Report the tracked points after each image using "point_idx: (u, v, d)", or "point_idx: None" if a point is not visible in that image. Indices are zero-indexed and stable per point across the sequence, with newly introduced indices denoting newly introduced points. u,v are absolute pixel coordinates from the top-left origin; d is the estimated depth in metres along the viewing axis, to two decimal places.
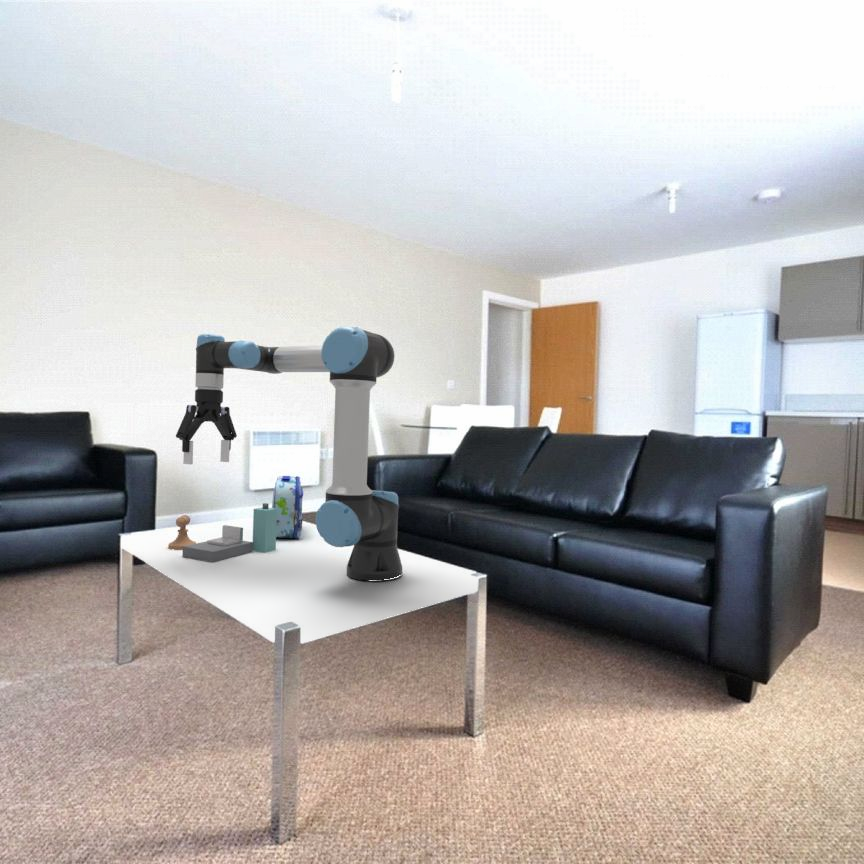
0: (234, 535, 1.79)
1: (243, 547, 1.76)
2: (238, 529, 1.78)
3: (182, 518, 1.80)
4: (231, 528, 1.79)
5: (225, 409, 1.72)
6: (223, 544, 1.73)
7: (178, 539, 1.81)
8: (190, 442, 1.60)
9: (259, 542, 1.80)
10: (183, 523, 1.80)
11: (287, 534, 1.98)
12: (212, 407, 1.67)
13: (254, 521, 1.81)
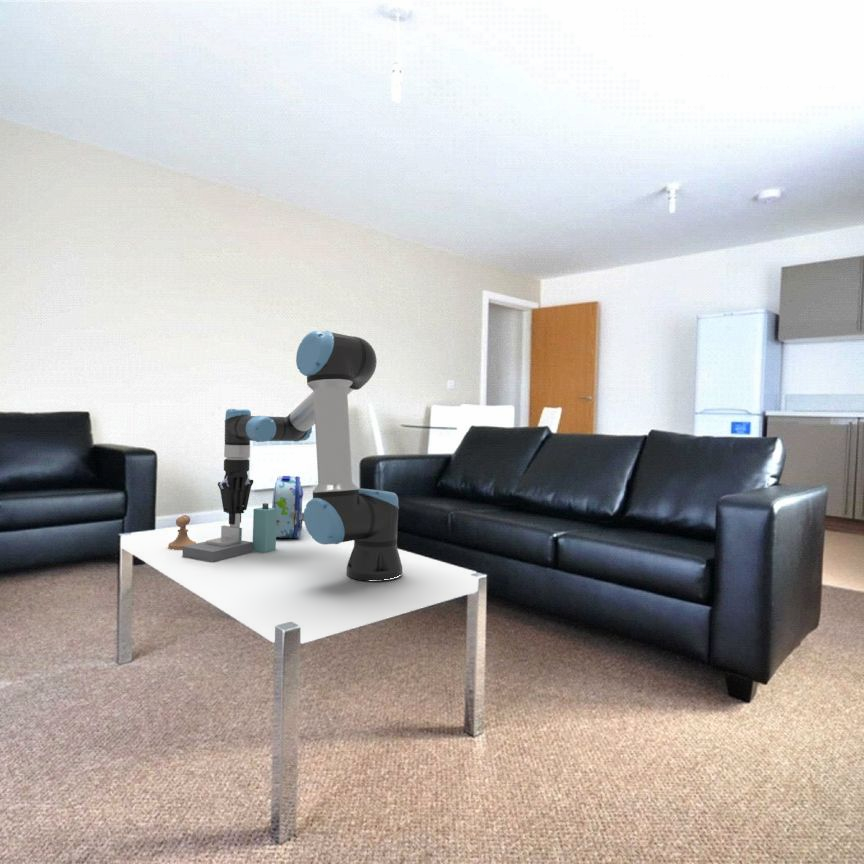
0: (233, 535, 1.78)
1: (243, 547, 1.76)
2: (237, 529, 1.77)
3: (182, 518, 1.80)
4: (230, 528, 1.79)
5: (249, 481, 1.85)
6: (222, 544, 1.72)
7: (178, 539, 1.81)
8: (236, 515, 1.79)
9: (259, 542, 1.80)
10: (183, 523, 1.80)
11: (287, 534, 1.98)
12: (239, 475, 1.80)
13: (254, 521, 1.81)
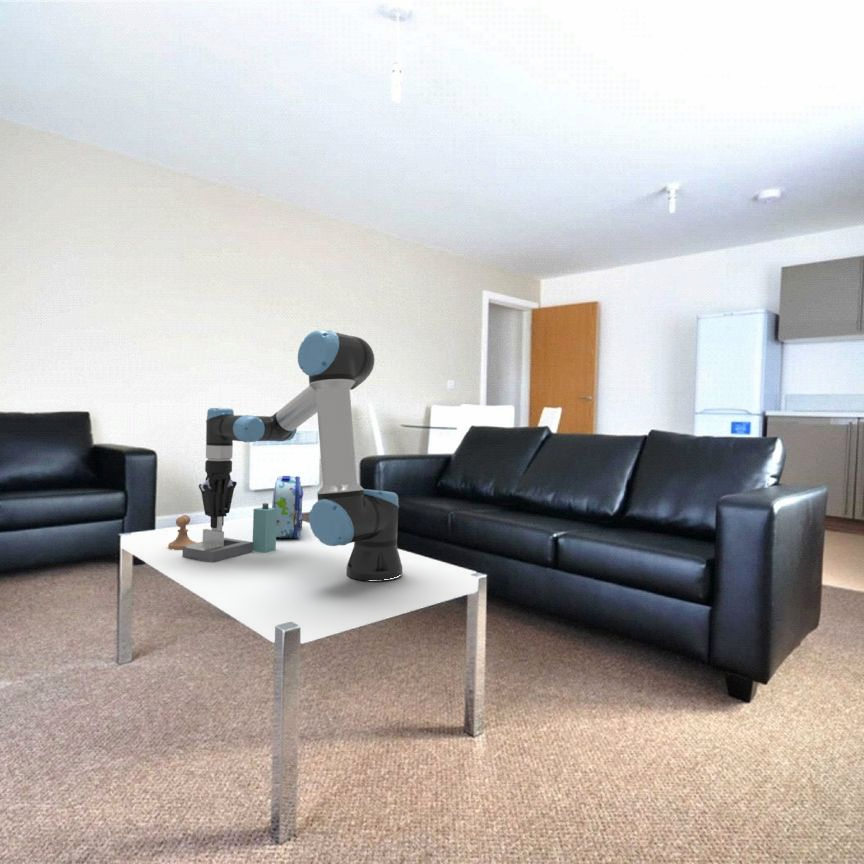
0: (215, 539, 1.72)
1: (243, 547, 1.76)
2: (219, 533, 1.71)
3: (182, 518, 1.80)
4: (212, 532, 1.72)
5: (232, 482, 1.78)
6: (202, 549, 1.66)
7: (178, 539, 1.81)
8: (218, 518, 1.73)
9: (259, 542, 1.80)
10: (183, 523, 1.80)
11: (287, 534, 1.98)
12: (222, 477, 1.73)
13: (254, 521, 1.81)
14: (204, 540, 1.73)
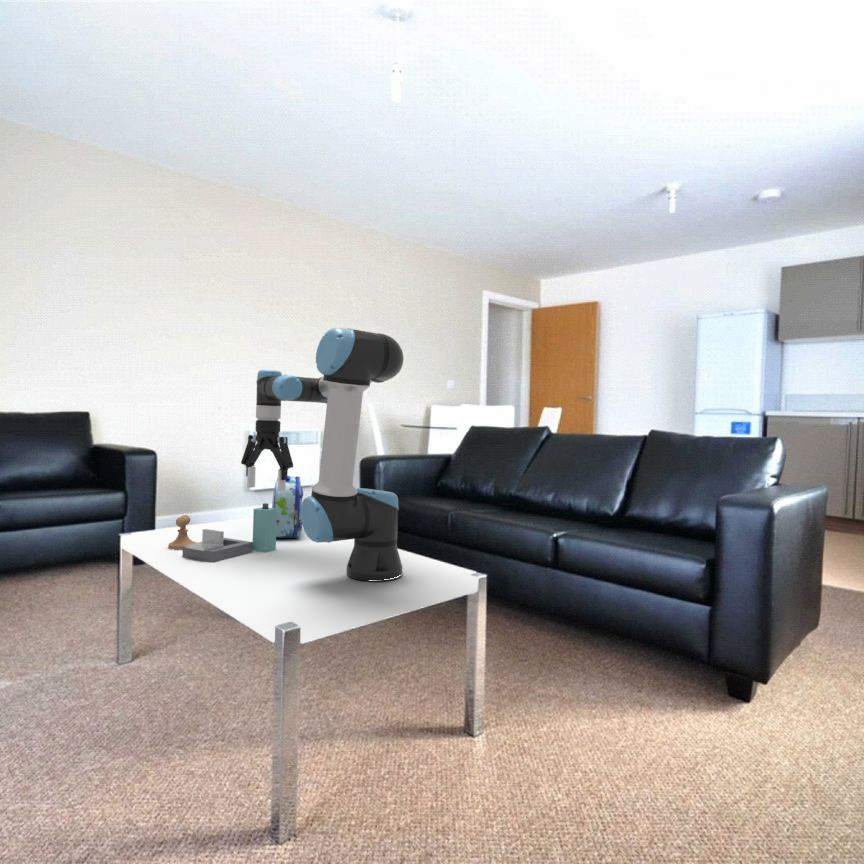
0: (215, 539, 1.71)
1: (243, 547, 1.76)
2: (218, 533, 1.71)
3: (182, 518, 1.80)
4: (211, 532, 1.72)
5: None
6: (202, 549, 1.65)
7: (178, 539, 1.81)
8: None
9: (259, 542, 1.80)
10: (183, 523, 1.80)
11: (287, 534, 1.98)
12: (266, 436, 1.81)
13: (254, 521, 1.81)
14: (204, 540, 1.73)
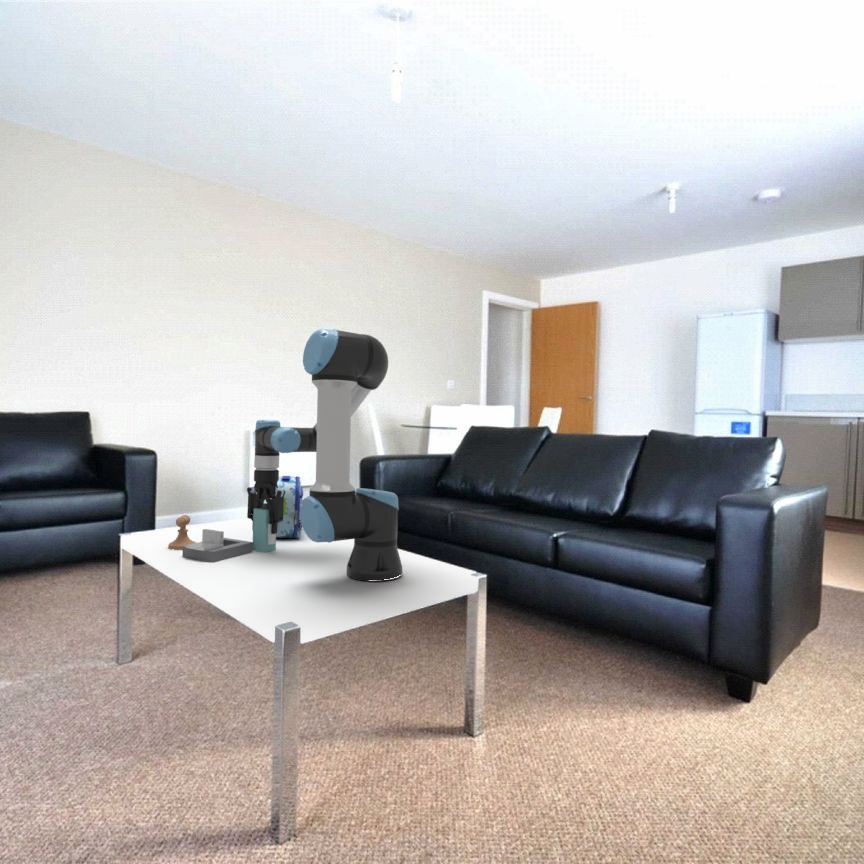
0: (215, 539, 1.71)
1: (243, 547, 1.76)
2: (218, 533, 1.71)
3: (182, 518, 1.80)
4: (211, 532, 1.72)
5: None
6: (202, 549, 1.65)
7: (178, 539, 1.81)
8: None
9: (259, 542, 1.80)
10: (183, 523, 1.80)
11: (287, 534, 1.98)
12: (264, 485, 1.81)
13: (254, 521, 1.81)
14: (204, 540, 1.73)
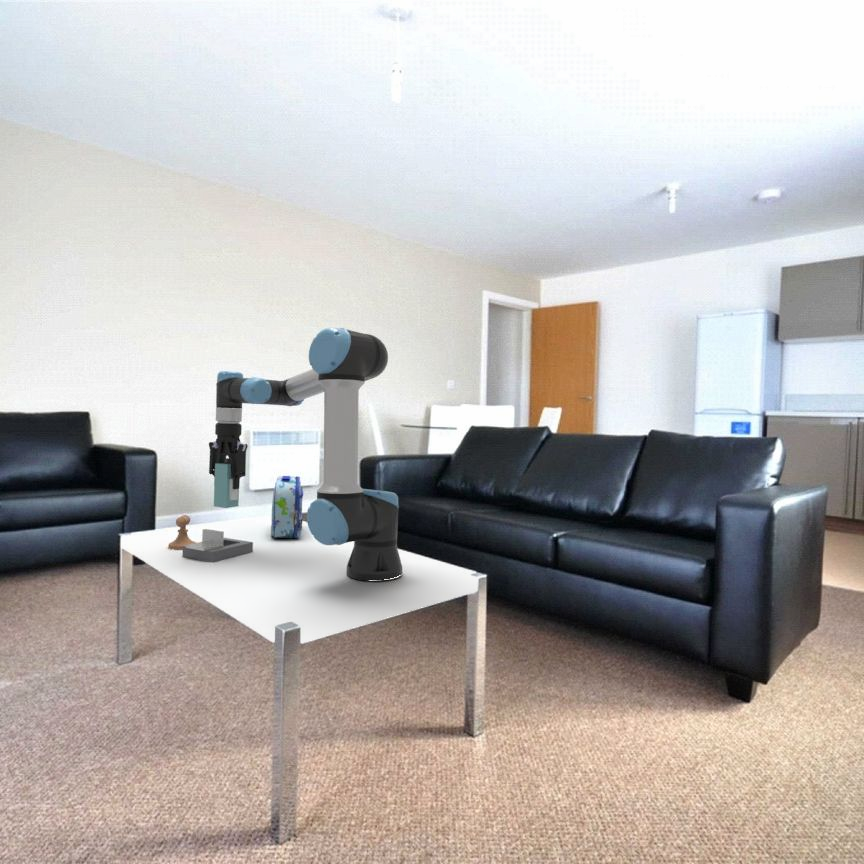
0: (215, 539, 1.71)
1: (243, 547, 1.76)
2: (218, 533, 1.71)
3: (182, 518, 1.80)
4: (211, 532, 1.72)
5: None
6: (202, 549, 1.65)
7: (178, 539, 1.81)
8: None
9: (220, 497, 1.75)
10: (183, 523, 1.80)
11: (287, 534, 1.98)
12: (226, 439, 1.75)
13: (216, 476, 1.75)
14: (204, 540, 1.73)
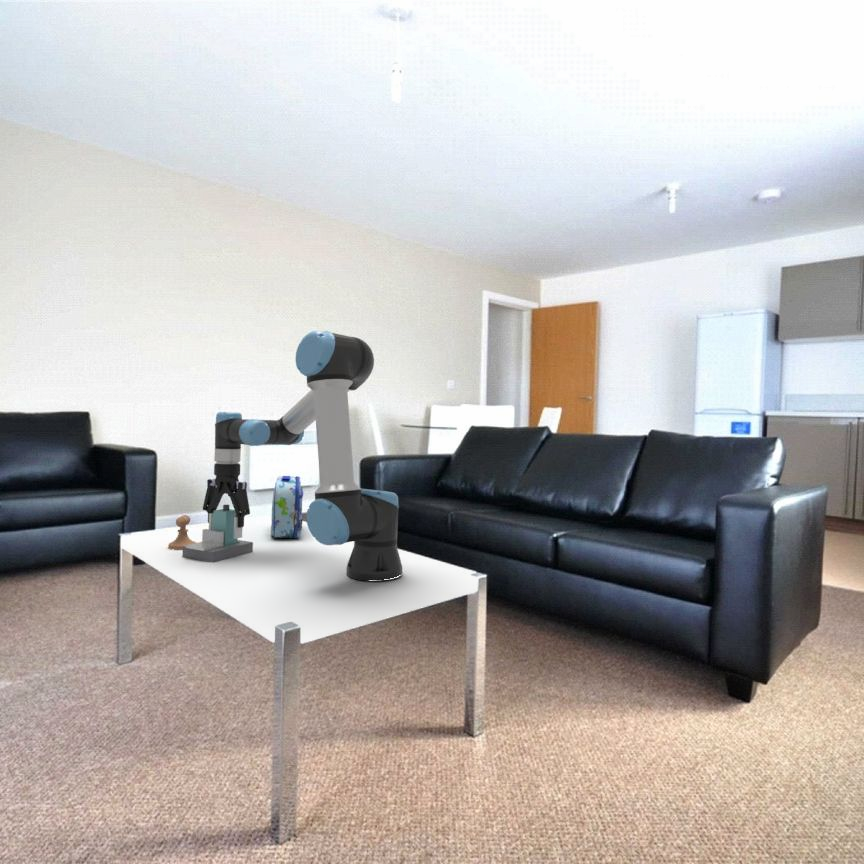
0: (215, 539, 1.71)
1: (243, 547, 1.76)
2: (218, 533, 1.71)
3: (182, 518, 1.80)
4: (211, 532, 1.72)
5: None
6: (202, 549, 1.65)
7: (178, 539, 1.81)
8: None
9: None
10: (183, 523, 1.80)
11: (287, 534, 1.98)
12: (225, 480, 1.76)
13: (214, 523, 1.76)
14: (204, 540, 1.73)
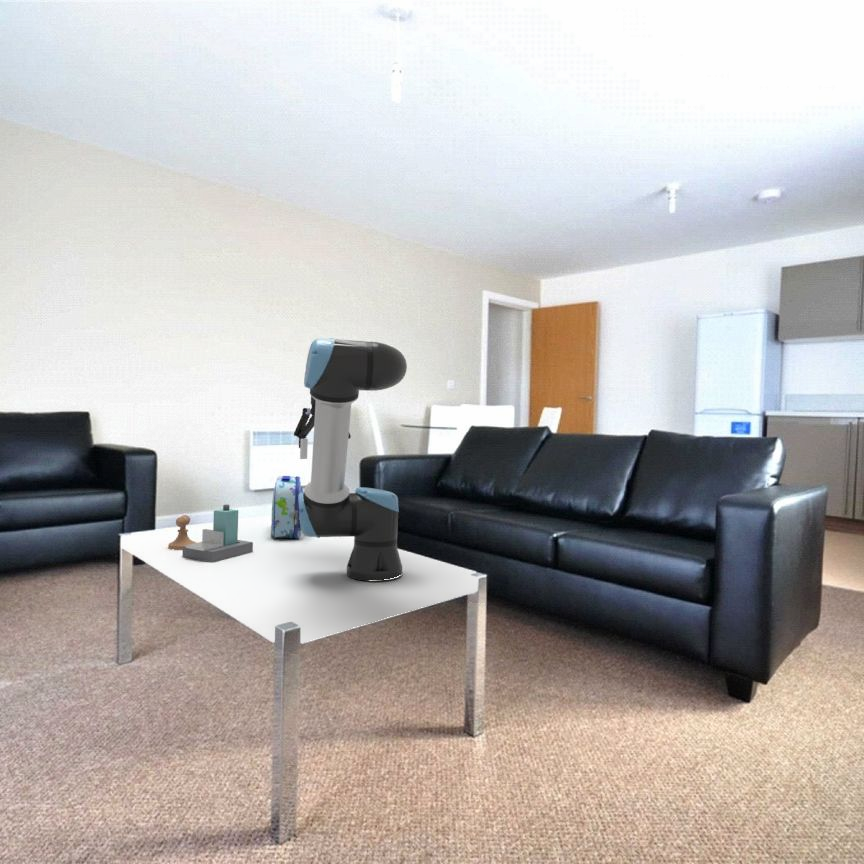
0: (215, 539, 1.71)
1: (243, 547, 1.76)
2: (218, 533, 1.71)
3: (182, 518, 1.80)
4: (211, 532, 1.72)
5: None
6: (202, 549, 1.65)
7: (178, 539, 1.81)
8: None
9: None
10: (183, 523, 1.80)
11: (287, 534, 1.98)
12: None
13: (214, 523, 1.76)
14: (204, 540, 1.73)
